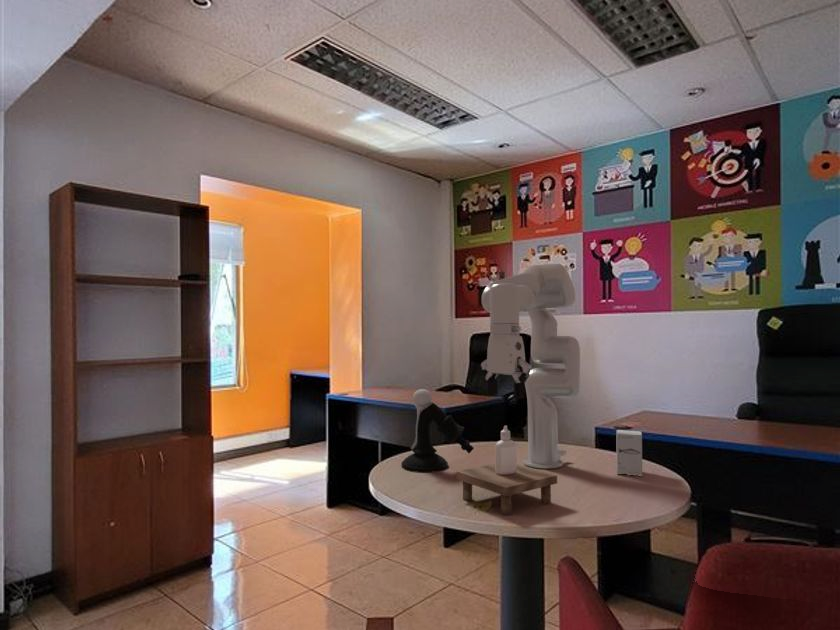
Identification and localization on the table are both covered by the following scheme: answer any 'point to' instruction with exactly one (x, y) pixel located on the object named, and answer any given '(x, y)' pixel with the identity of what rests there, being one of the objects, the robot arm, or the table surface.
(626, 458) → the supplement box
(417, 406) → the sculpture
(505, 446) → the eye dropper bottle
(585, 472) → the table surface
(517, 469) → the walnut stool
